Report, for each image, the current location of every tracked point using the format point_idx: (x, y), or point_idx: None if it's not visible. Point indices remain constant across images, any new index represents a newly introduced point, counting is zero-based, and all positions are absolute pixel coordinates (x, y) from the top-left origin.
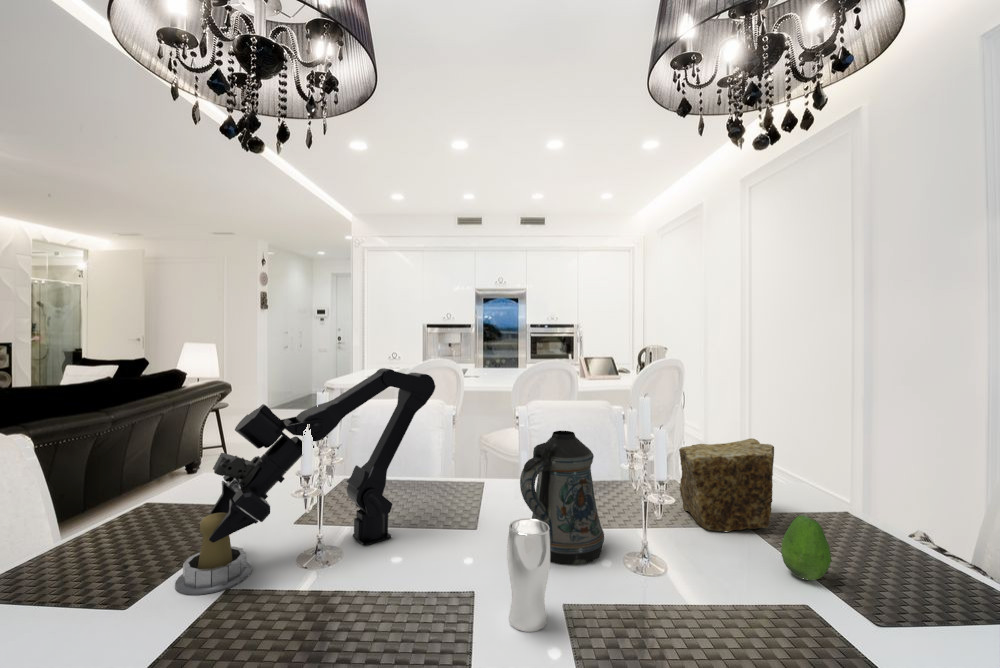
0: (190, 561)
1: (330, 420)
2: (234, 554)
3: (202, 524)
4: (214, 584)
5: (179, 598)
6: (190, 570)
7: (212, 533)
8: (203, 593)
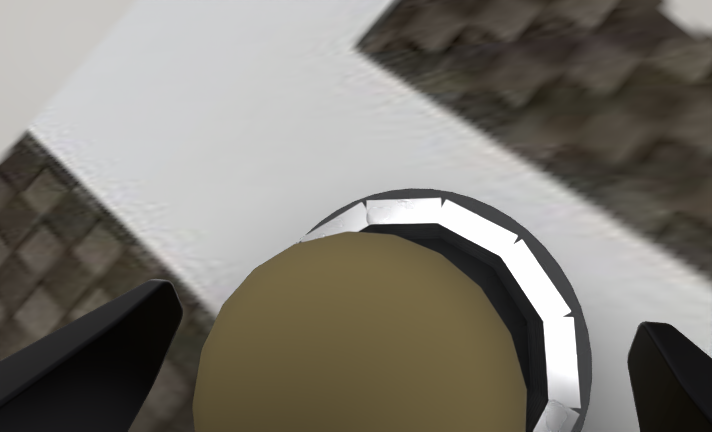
0: (456, 234)
1: None
2: None
3: (298, 243)
4: None
5: (313, 199)
6: (330, 221)
7: (125, 304)
8: None
